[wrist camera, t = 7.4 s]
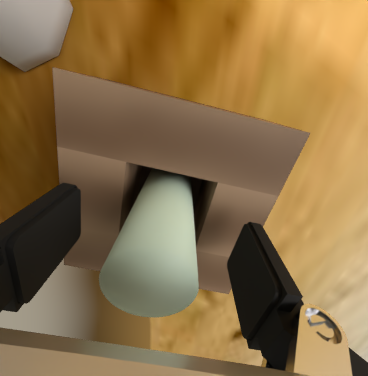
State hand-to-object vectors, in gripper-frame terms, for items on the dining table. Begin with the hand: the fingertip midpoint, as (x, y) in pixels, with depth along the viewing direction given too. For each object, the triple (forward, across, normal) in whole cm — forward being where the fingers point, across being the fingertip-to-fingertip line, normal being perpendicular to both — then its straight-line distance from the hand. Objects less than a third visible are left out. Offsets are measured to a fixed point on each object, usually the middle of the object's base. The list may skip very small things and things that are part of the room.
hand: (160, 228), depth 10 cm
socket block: (+8, 0, 0) cm, 8 cm away
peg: (+7, 0, 0) cm, 7 cm away
